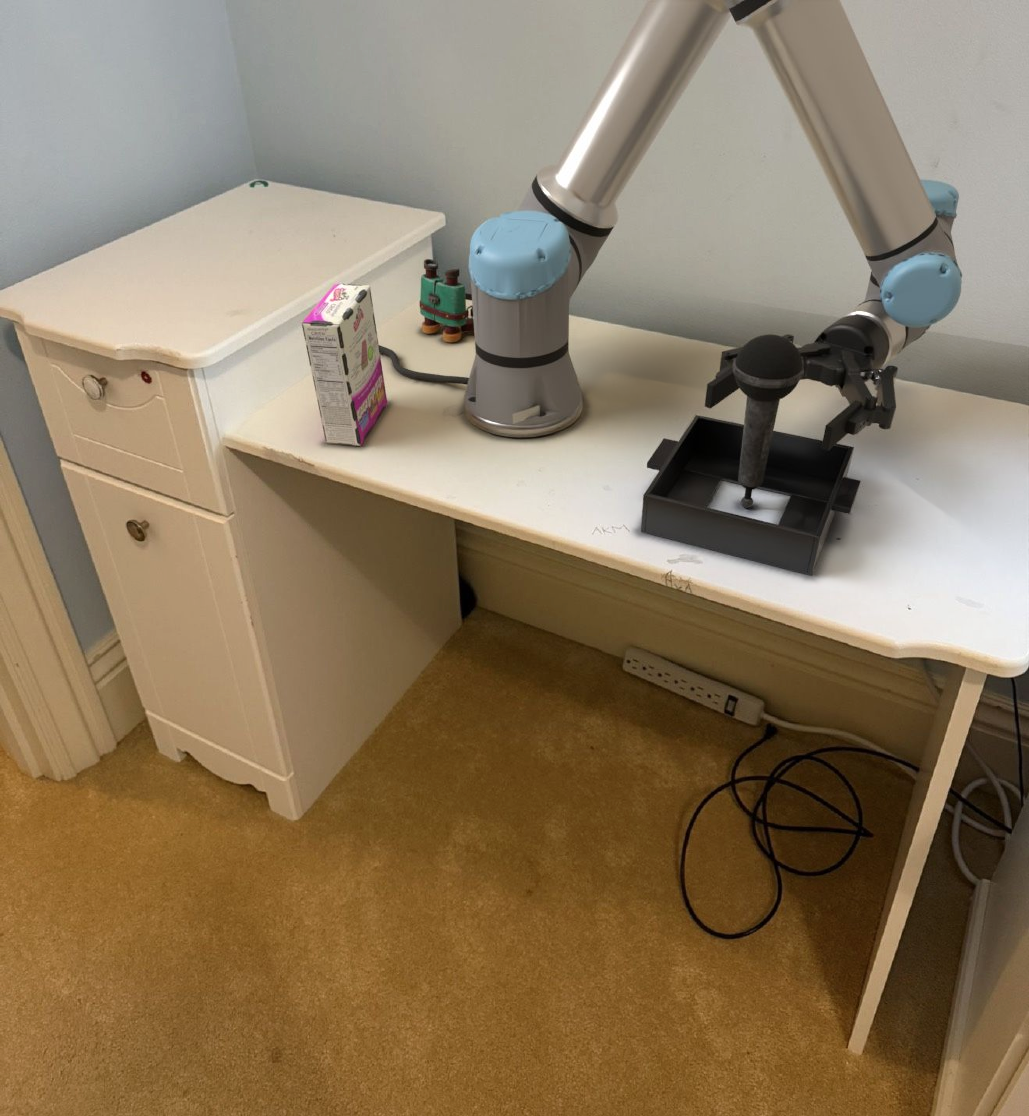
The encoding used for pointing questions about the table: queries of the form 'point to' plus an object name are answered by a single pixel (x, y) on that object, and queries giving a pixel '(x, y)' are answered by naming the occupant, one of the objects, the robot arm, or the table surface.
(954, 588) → the table surface
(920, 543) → the table surface
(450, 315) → the binoculars
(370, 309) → the candy bar box
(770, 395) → the microphone
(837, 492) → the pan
